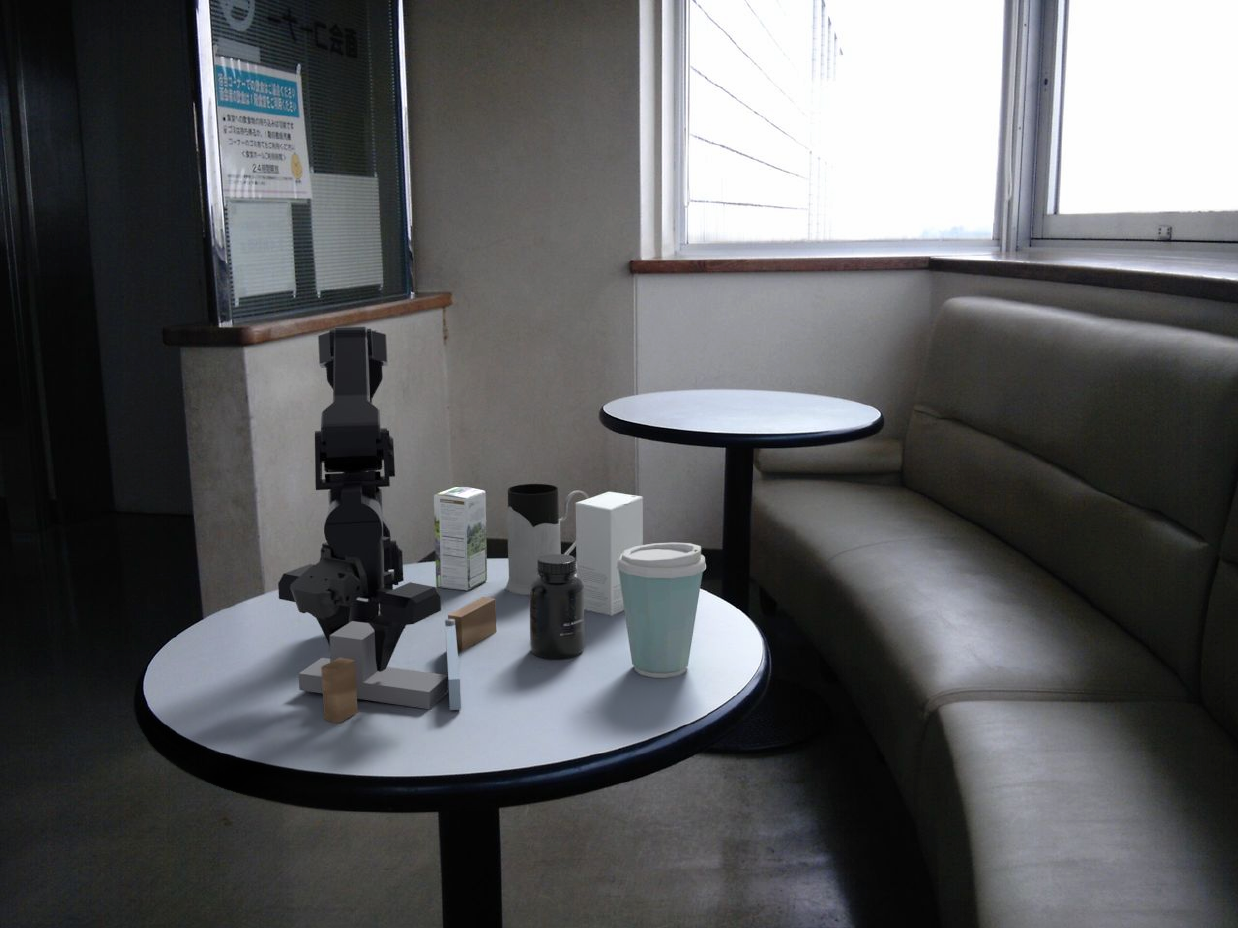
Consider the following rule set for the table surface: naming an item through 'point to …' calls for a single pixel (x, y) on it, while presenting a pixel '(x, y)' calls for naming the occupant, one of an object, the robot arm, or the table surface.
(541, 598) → the supplement bottle
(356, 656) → the gray t-shaped pedestal
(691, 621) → the disposable coffee cup
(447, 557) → the syrup box
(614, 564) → the skincare box
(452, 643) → the door leaf
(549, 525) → the glass holder
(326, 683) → the wooden blocks
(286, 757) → the table surface
